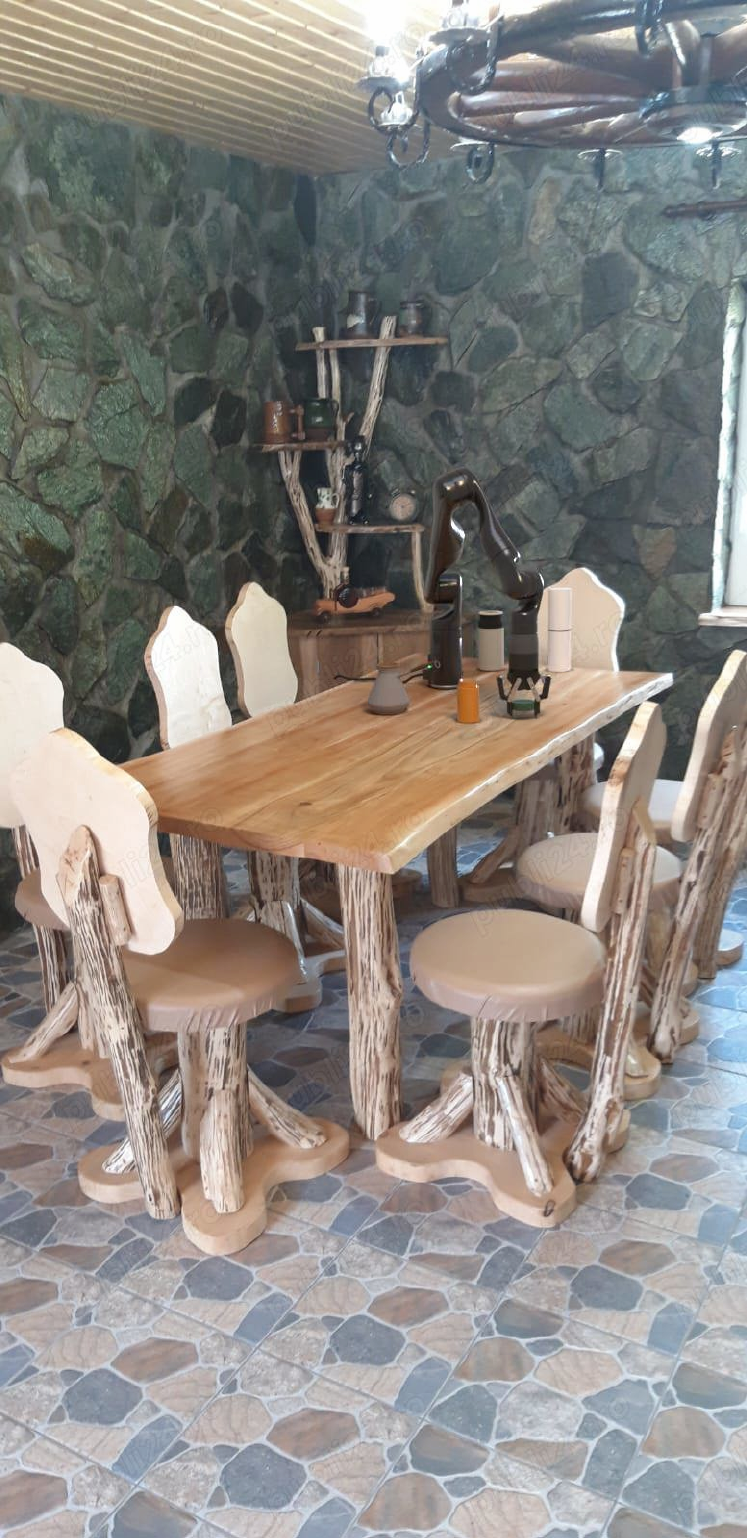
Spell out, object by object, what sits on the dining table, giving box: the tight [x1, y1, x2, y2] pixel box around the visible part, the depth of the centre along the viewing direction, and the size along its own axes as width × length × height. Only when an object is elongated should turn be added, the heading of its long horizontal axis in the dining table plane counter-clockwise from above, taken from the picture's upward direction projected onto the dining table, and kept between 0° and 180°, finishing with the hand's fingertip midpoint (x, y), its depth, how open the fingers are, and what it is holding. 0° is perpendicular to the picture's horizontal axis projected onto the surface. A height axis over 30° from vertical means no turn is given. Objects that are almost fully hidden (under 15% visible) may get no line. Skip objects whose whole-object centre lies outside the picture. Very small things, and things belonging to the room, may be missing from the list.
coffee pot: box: [367, 660, 440, 716], centre depth 310 cm, size 21×12×15 cm, turn 57°
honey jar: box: [456, 677, 480, 724], centre depth 300 cm, size 6×6×11 cm
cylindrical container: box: [547, 587, 573, 673], centre depth 363 cm, size 7×7×25 cm
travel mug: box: [477, 610, 505, 672], centre depth 368 cm, size 8×8×18 cm
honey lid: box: [512, 699, 535, 712], centre depth 301 cm, size 6×6×2 cm
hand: (523, 715), depth 302 cm, fingers closed on honey lid, 5 cm apart
